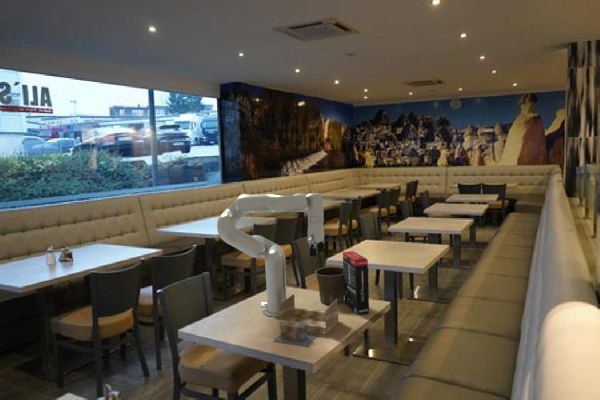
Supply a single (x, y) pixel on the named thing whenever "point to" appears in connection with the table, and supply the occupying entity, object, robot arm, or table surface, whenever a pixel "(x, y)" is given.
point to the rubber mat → (304, 343)
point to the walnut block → (293, 331)
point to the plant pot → (331, 284)
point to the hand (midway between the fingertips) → (317, 253)
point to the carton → (310, 316)
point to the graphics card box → (356, 282)
